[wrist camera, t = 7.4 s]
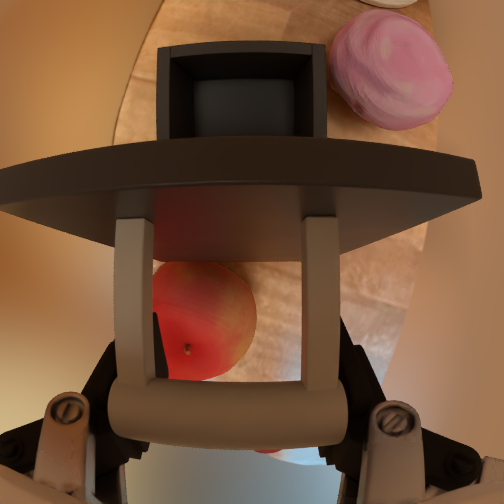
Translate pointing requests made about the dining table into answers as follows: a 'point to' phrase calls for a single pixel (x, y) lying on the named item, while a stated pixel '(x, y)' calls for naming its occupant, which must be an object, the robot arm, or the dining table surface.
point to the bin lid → (235, 258)
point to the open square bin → (241, 89)
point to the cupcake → (389, 70)
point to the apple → (202, 318)
